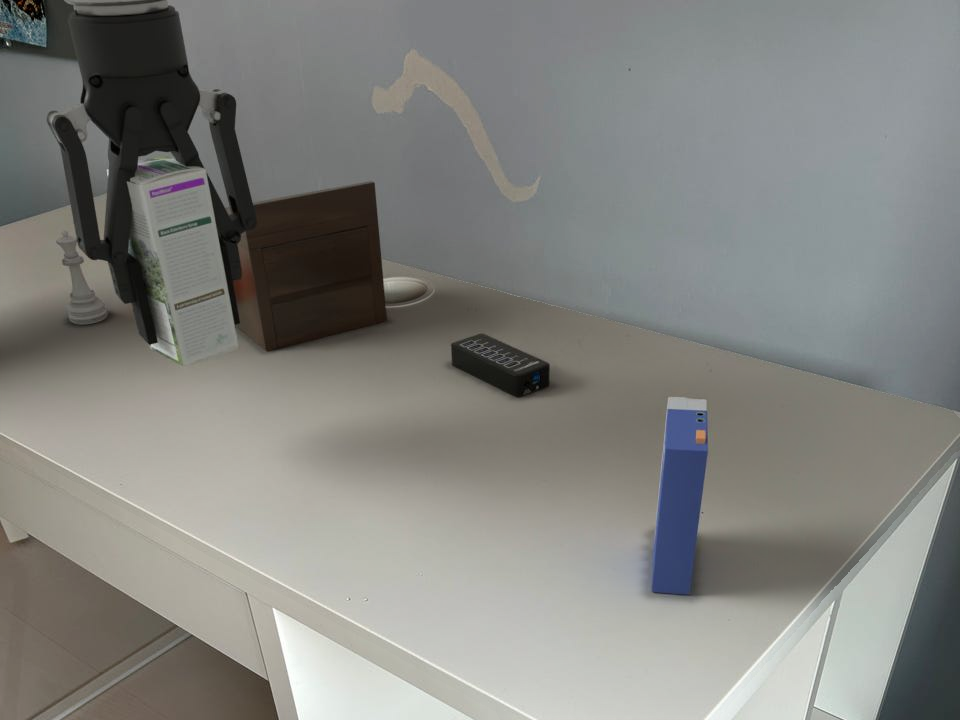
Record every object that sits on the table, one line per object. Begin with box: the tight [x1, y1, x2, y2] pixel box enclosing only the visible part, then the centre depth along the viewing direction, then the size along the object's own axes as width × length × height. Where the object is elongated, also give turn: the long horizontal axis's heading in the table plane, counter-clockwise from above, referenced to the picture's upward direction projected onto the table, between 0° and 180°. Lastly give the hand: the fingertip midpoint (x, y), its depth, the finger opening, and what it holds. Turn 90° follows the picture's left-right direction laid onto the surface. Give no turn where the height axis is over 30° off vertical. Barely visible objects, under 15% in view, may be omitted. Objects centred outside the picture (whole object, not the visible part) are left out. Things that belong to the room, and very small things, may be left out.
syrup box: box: [106, 156, 239, 367], centre depth 79 cm, size 6×6×14 cm
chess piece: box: [55, 230, 109, 326], centre depth 114 cm, size 4×4×10 cm
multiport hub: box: [450, 333, 551, 398], centre depth 100 cm, size 4×11×2 cm, turn 39°
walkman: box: [651, 396, 709, 595], centre depth 70 cm, size 8×3×12 cm, turn 170°
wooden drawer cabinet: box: [225, 180, 388, 352], centre depth 110 cm, size 12×15×15 cm
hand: (189, 328), depth 83 cm, fingers closed on syrup box, 6 cm apart
